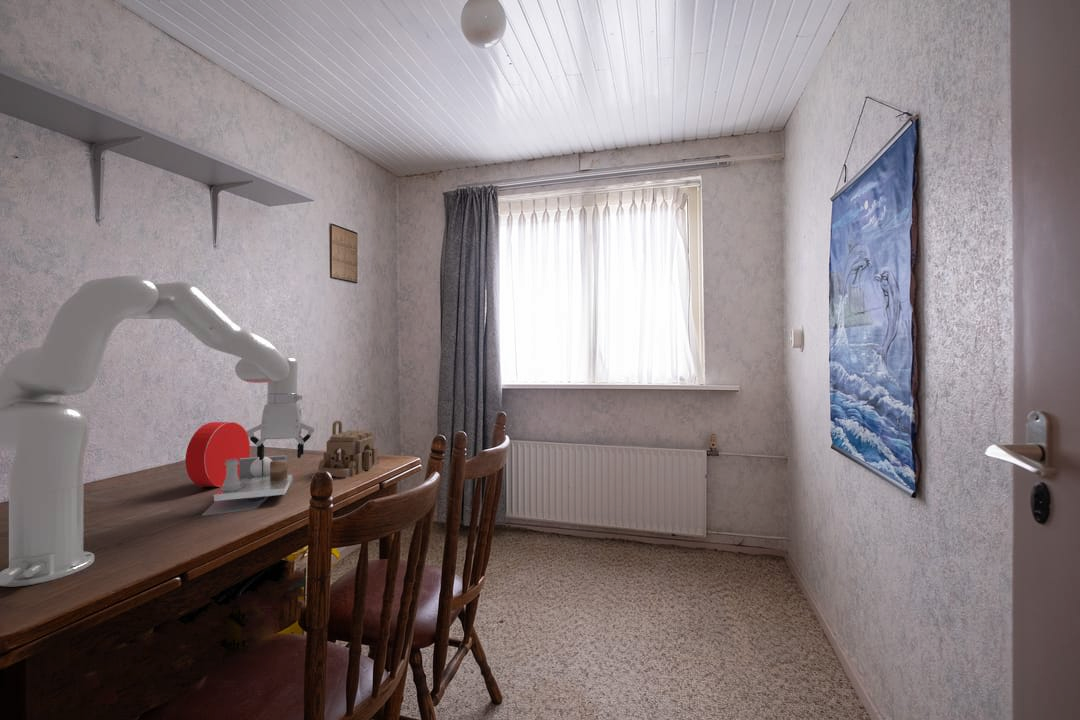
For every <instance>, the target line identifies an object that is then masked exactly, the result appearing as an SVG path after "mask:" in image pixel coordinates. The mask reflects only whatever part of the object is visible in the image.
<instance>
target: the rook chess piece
mask: <svg viewBox="0 0 1080 720" xmlns="http://www.w3.org/2000/svg"><path fill="white" fill-rule="evenodd" d="M238 464H239V462H238V459H234V460H232V459H230V460H229V459H228V460H226V463H225V465H226V466H227V468H226V479H225V481H224V483H223V484H222V486H223V488H222V487H221V488H222V490H223V491H225V492H230V491H236V490H239V489H240V488H241V487H242V486H241V481H239V480H240V479H239V478H238V473H237V469H238V467H237V465H238Z"/></svg>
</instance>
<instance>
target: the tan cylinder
mask: <svg viewBox="0 0 1080 720" xmlns="http://www.w3.org/2000/svg"><path fill="white" fill-rule="evenodd" d="M288 461H289V460H287V459H286V460H276V461H271V462H270V480H272V481H279V480H284V479H287V478H288V475H289V473H288V467H289V466H288Z"/></svg>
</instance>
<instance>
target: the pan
mask: <svg viewBox="0 0 1080 720" xmlns="http://www.w3.org/2000/svg"><path fill="white" fill-rule="evenodd" d="M239 481H241V486H242V487H241V488H240V489H239V490H236V491H230V492H225V491H223V490H222V488H223V487H220V488H219V490H217V491H216V492H215V493H214V494H213V501H214V502H215V501H220V500H231V499H241V498H248V501H258V500H262V499H264V498H265V496H269V497H272V496H273V497H274V496H280V495H283V496H284V495H286V493H287V491H288V489H289V487H290V486H291V484H292V481H293V474H288V478H287V479H284V480H279V481H272V480H270V476H268V477H256V478H243V479H240V480H239Z"/></svg>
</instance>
